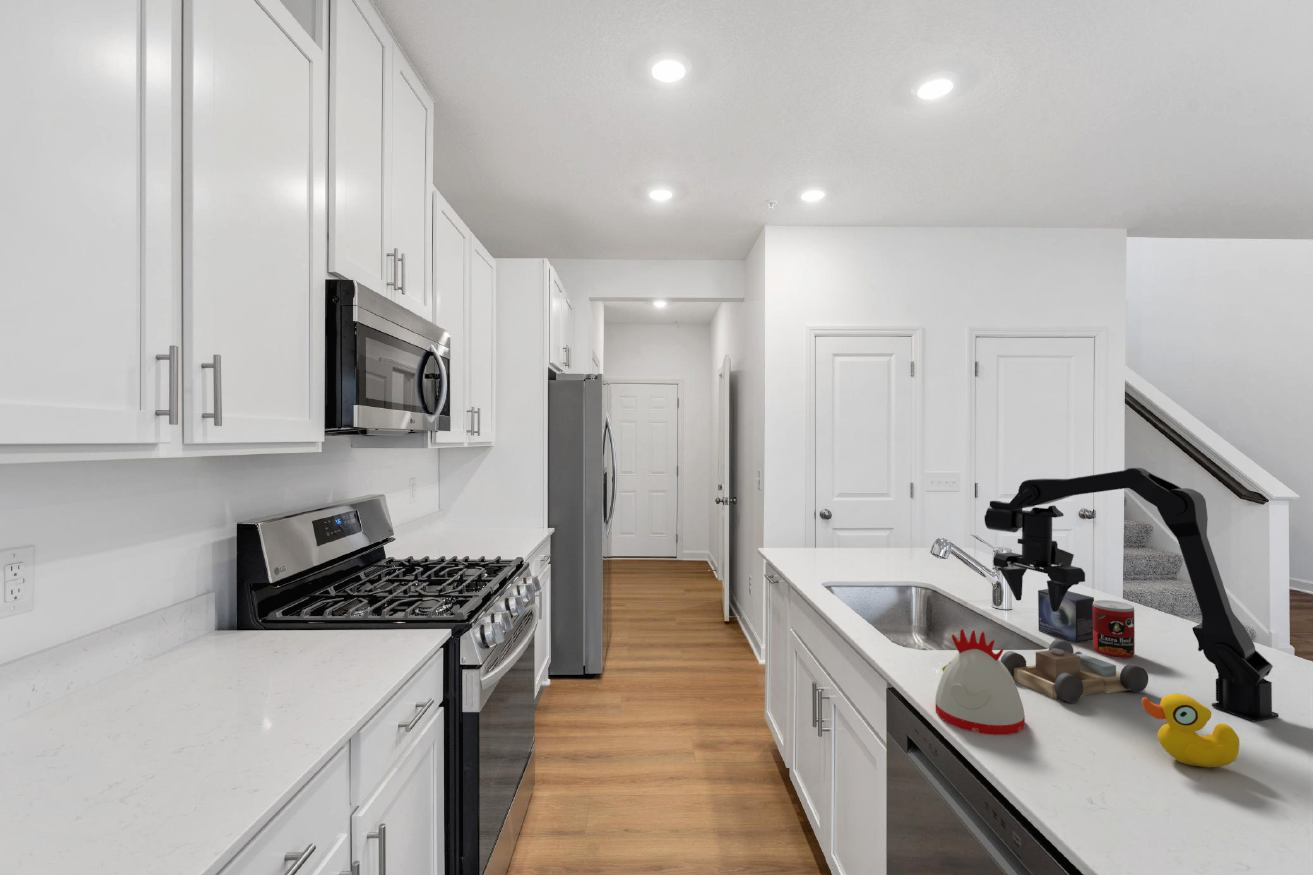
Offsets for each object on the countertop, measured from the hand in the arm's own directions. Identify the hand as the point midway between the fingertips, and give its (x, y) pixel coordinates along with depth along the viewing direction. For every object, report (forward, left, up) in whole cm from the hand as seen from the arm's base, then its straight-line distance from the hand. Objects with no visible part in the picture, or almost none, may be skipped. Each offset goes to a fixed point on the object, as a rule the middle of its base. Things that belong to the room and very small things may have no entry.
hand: (1036, 605), depth 139 cm
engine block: (-14, +10, -11) cm, 20 cm away
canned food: (-2, -19, -12) cm, 23 cm away
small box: (+11, -20, -12) cm, 26 cm away
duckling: (-42, +17, -12) cm, 47 cm away
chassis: (-14, +7, -12) cm, 19 cm away
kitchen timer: (-20, +35, -12) cm, 42 cm away
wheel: (-4, -2, -12) cm, 12 cm away
